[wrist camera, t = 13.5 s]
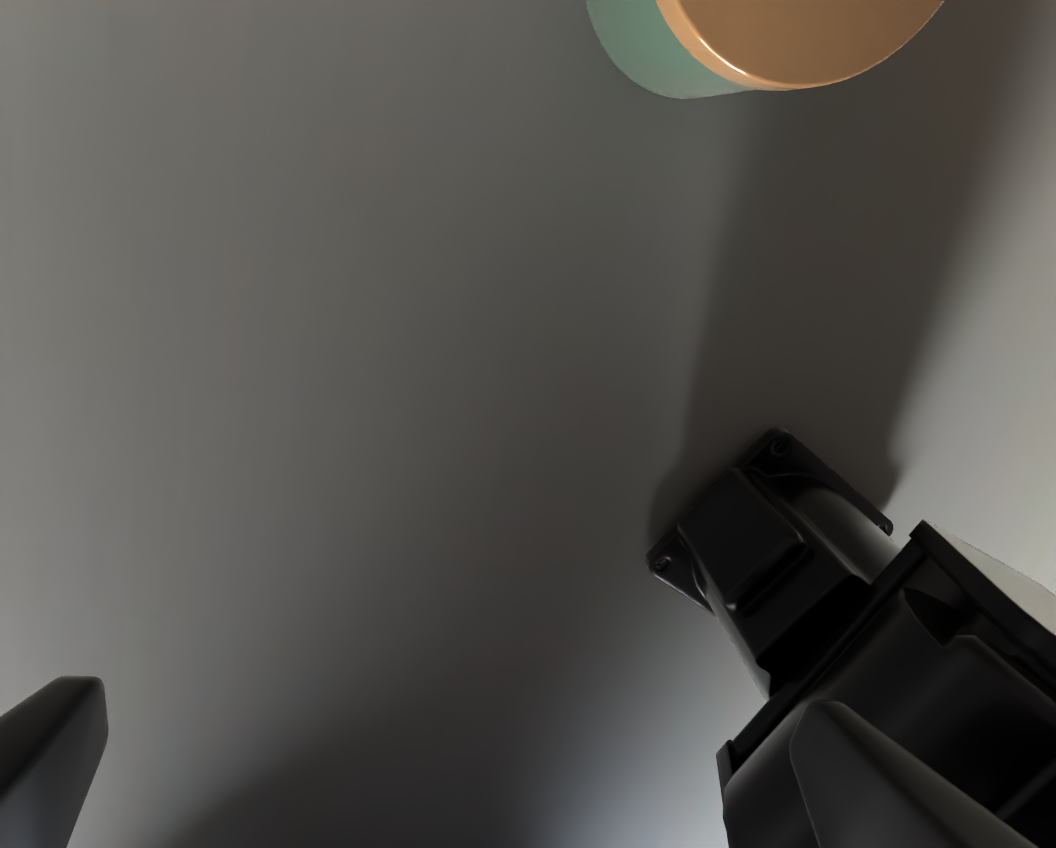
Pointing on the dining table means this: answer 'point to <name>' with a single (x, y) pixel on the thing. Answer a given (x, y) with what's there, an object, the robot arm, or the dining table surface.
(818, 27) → the jar
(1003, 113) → the dining table surface
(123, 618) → the dining table surface
